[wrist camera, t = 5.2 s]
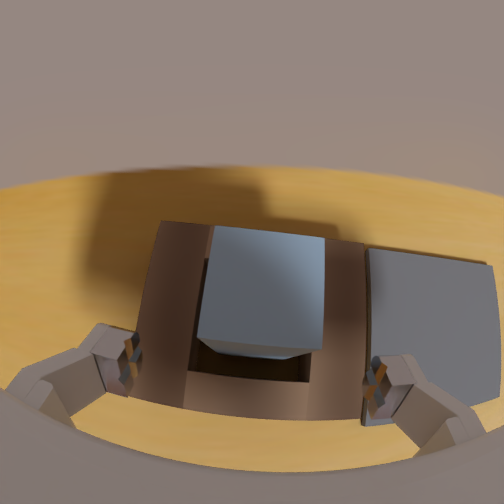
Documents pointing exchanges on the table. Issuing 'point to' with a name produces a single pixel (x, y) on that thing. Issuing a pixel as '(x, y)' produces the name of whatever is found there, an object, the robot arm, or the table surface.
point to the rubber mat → (435, 322)
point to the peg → (263, 294)
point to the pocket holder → (236, 387)
